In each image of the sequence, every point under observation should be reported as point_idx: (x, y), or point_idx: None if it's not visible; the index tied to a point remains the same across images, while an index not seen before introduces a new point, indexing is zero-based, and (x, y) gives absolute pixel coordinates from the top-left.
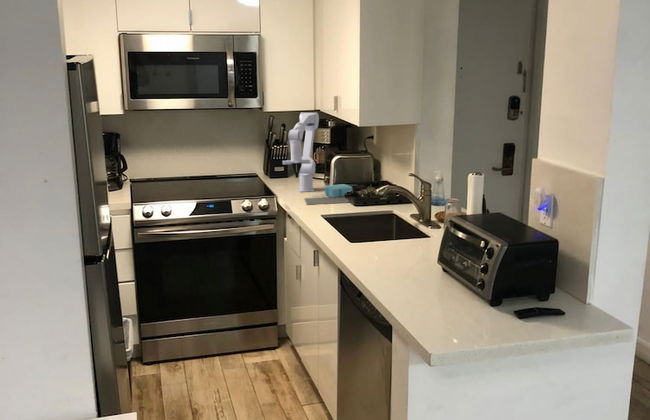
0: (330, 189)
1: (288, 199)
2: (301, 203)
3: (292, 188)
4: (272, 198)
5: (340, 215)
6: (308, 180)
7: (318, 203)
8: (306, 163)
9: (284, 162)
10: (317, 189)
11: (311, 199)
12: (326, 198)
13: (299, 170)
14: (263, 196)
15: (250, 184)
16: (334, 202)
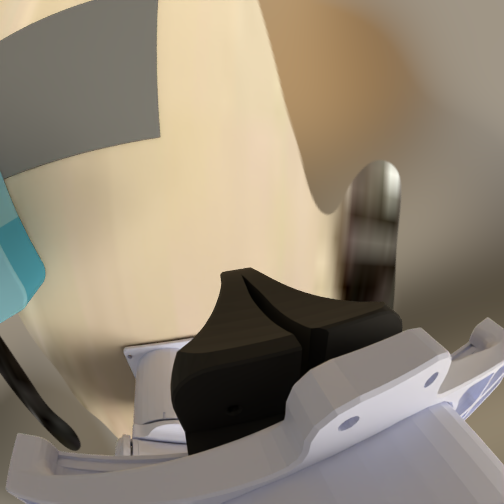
0: None
1: (271, 141)
2: (188, 19)
3: None
4: (357, 189)
5: None
6: (151, 396)
7: (88, 6)
8: (85, 454)
9: (502, 340)
10: (120, 384)
11: (112, 102)
12: (25, 135)
13: (216, 312)
14: (388, 245)
15: None
16: (8, 42)
